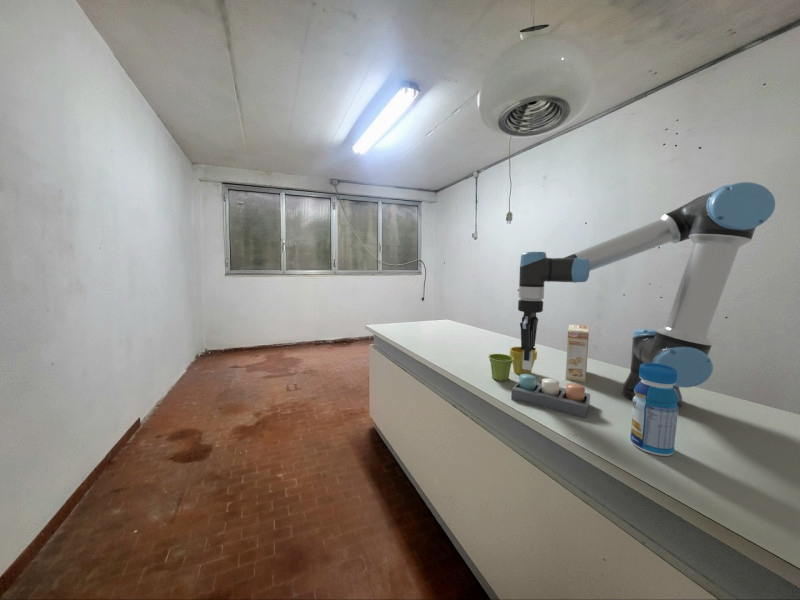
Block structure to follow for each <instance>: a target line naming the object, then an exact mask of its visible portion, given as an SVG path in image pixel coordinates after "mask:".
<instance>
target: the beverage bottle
mask: <svg viewBox="0 0 800 600" xmlns="http://www.w3.org/2000/svg"><path fill="white" fill-rule="evenodd" d="M639 376H640V378H641V379H642V380H641V381H640V382H639V383H638V384H637V385H636V386H635V389H634V393H635V396H634V397H633V400H631V401H632V412H631V413H632V414H631V428H630V438H629V440H630V442H631V443H632V444H633V446H635V447H636V448H637V449H639V450H641V451H643V452H645V453H648V454H651V455H655V456H661V457H669V456H672V455H673V454H674V453H675V444H676V443H675V441H676V433H677V426H678V425H677V423H678V422H677V421H678V415H679V414H680V409H679V408H680V407H678V406H677V403H678V402H679V396H678V393H677V391H676V390H675V388H674V387H673V386H672V385H675V384H676V381H677V370H676V369H675V368H673V367H670V366H667V365H662V364H656V363H642V364H641V365H640V369H639Z"/></svg>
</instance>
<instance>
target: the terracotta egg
mask: <svg viewBox="0 0 800 600" xmlns="http://www.w3.org/2000/svg"><path fill="white" fill-rule="evenodd" d="M565 389H566V397H565V399H570V400H574V401H578V402H583V403H584V395H585V393H586V387H585V386H584V385H582V384H579V383H573V382H571V383H566V384H565Z"/></svg>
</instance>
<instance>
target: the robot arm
mask: <svg viewBox="0 0 800 600" xmlns="http://www.w3.org/2000/svg"><path fill="white" fill-rule="evenodd" d="M775 207H776V199H775V196H774V194H773V193H772V192H771V191H770V190H769V189H768V188H767V187H765V186H764V185H762V184H759V183H756V182H750V181H747V182H746V181H742V182H735V183H732V184H727V185H723V186H721V187H719V188H717V189H715V190H713V191H710V192H708V193H706V194H704V195H703V194H702V195H701V196H698V197H696V198H694V199H693V200H690V201H689V202H687V203H686V204H683V205H682V206H680V207H678V208H676V209H674V210H671V211H669V212H667V213H664V214H662V215H661V216H660V217H659V219H658V220H655V221H653V222H651V223H648V224H646V225H643V226H641V227H637V228H635V229H633V230H630V231H628V232H625V233H623V234H621V235H620V234H619V235H618V236H616V237H612V238H611V239H608V240H605V241H602V242H600V243H597V244H595V245H593V246H589V247H588V248H585V249H582V250H581V251H577V252H574V253H573V254H570V255H568V256H564V257H558V258H557V257H555V258H554V257H552V258H551V257H550V258H549V257H547V253H546V252H544V251H526V252H523V253H522V254H521V255H520V263H519V278H518V279H519V281H518V283H519V284H518V286H519V287H518V288H517V292H518V298H519V300H518V304H517V305H518V306H517V310H518V311H519V312H523V315H522V317H521V322H520V323H519V326H520V347H521V348H520V350H523V363H522V369H526V370H530V371H531V370H533V368H532V358H533V350H536V349H537V348H536V347H535V346H536V338H537V330H538V322H539V318H538V317H537V313H542V312H544V301H543V300H544V297H545V296H544V295H545V282H547V283H549V282H552V283H555V282H556V283H574V284H576V283H585V282H587V281H588V280H589V277H590V272H591V271H594V270H597V269H599V268H603V267H605V266H607V265H612V264H613V263H616V262H618V261H621V260H624V259H627V258H629V257H633V256H635V255H638V254H641V253H643V252H646V251H648V250H651V249H655V248H657V247H660V246H663V245H666V244H668V243H673V244H678V243H680V242H683V241H686V240H690V241H691V242H692V244H693V245H692V247H691V251H690V254H689V256H688V259H687V262H686V265H685V267H684V270H683V273H682V277H681V279H680V282H679V286H678V289H677V292H676V294H675V297H674V300H673V302H672V306H671V309H670V312H669V314H668V318H667V321H666V323H665V325H664V326H663V327H661V328H658V329H648V328H647V329H646V328H644V329H642V328H638V329H637V328H636V329H635V330H634V331H633V335H632V338H631V339H632V345H631V357H630V359H631V360H630V371H629V374H628V375H627V377H626V380H625V381H624V384H623V385H622V391H621V392H622V393H621V394H622V395H623V396H624V397H626V398H628V399H630V400H631V401H633V397H634V396H635V393H634V389H635V386H636V385H637V384H638V383H639V382H640V381H641V380H642V379H641V378H640V376H639V369H640V365H641V364H642V363H656V364H662V365H667V366H670V367H673V368H675V369H676V370H677V381H676V384H675V385H672V386H673V387H674V388H675V390H676V391H677V393H678V396H679V402H678V403H677V406H678V408H681V407H682V405H683V395H682V392H681V388H692V387H697V386H699V385H700V386H701V385H702V384H703V383H705V382H707V381H708V380H709V378H710V377H711V376H712V374H713V371H714V365H713V363H712V360H711V358H710V357H709V353H710V350H711V348H712V346H713V343H712V342H711V341H710V339H709V338H708V333H709V329H710V327H711V325H712V322H713V320H714V317H715V314H716V311H717V308H718V305H719V303H720V301H721V297H722V295H723V292H724V290H725V287H726V284H727V281H728V279H729V276H730V273H731V270H732V268H733V266H734V265H733V264H734V262H735V261H736V258H737V257H736V256H737V253H738V251H739V249H741V248H740V247H743V246H744V245H746V244H748V243H750V242H751V241H752V239H753V236H754V234H755V231H756V228H757V227H759V226H761V225H763V224H764V223H765V222H767V221H768V219H769V218H771V217H772V215H773V213H774V211H775ZM536 351H537V350H536ZM531 372H532V371H531Z"/></svg>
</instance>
